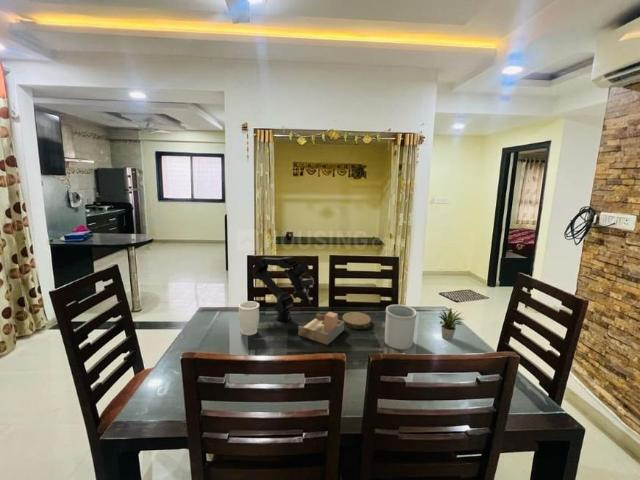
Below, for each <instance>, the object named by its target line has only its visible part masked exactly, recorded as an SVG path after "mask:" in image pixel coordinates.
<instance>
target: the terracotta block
mask: <svg viewBox="0 0 640 480" xmlns="http://www.w3.org/2000/svg"><path fill="white" fill-rule="evenodd" d="M324 316H325V318H324V332H328V333H330V332H331V331H332V330H333V329H334V328H336V327H337V321H338V320H339V318H338V316H339V314H338V313H336V312H332V311H328V312H327V313H325V314H324Z"/></svg>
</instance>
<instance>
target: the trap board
mask: <svg viewBox="0 0 640 480" xmlns="http://www.w3.org/2000/svg"><path fill="white" fill-rule="evenodd" d="M324 318H325V315H322V314H320V313H315V318H314V319H312V320H311V321H310V322H308V323H307V324H306V325H304V326H301V325H298V328H297V330H298V331H297V332H298V333H297V334H298V335H297V336H301V337H303V338H307V339H310V340H311V341H315V342H317V341H316V331H318V332H322V331H323V330H324Z"/></svg>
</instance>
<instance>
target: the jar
mask: <svg viewBox="0 0 640 480" xmlns="http://www.w3.org/2000/svg"><path fill="white" fill-rule="evenodd" d="M259 308H260V303H259V302H257V301H252V300H248V301H243V302H242V301H241V302H240V303H239V304H238V314H237V315H238V316H237V317H238V323H239V327H240V333H241V334H242V335H243V336H254V335H255V334H257V333H258V329H257V328H258V327H259V321H260V309H259Z"/></svg>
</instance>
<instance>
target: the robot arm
mask: <svg viewBox="0 0 640 480" xmlns="http://www.w3.org/2000/svg"><path fill="white" fill-rule="evenodd" d="M269 266H276V267H279V268H281V269H284V270H283V274H282V275H283V276H287V278H288V279H289V281H290V285H291V286H293V288H294V292H293V293H292V295H291V294H290V292H289V291H286V292H285V291H283V290H282V289H281V288H280V286H279V285H278V284H277V283H276V282H275V281H274V280H273V278H272V277H271V276H270V275H269V270H268V268H269ZM309 271H310V267H309V265H308V264H307V263H306V262H304V260H300V261H297V260H296V259H294V256H285V257H282V258H281V257H268V256H265V257H261V258H260V259H259V260H258V261H257V263H255V265H253V267H252V268H251V271H250V272H251V275H252V276H253V277H254V278H256V279H257V280H260V281H262V283H263V284H264V285H265V286H266V287H267V289H268V290H269V291H270V292H271V294H273V296H274V297H275V298H276V305H275V306H274V310H275V311H276V312H277V314H276V315H277V317H276V318H275V320H276V321H279V322H281V323H282V322H283V323H287V322H288V321H289V320H291V319H292V317H291V310H290V309H292V308H293V306H294V302H295V300H294V299H297V298H298V299H299V300H301V301H303V302H305V304H306V305H311V300H310V297H309V291H310V289H309V288H311V286H314V284H315V278H314V277H313V276H312V275H308V276H307V278H303V275H306V274H307V273H309Z"/></svg>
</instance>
